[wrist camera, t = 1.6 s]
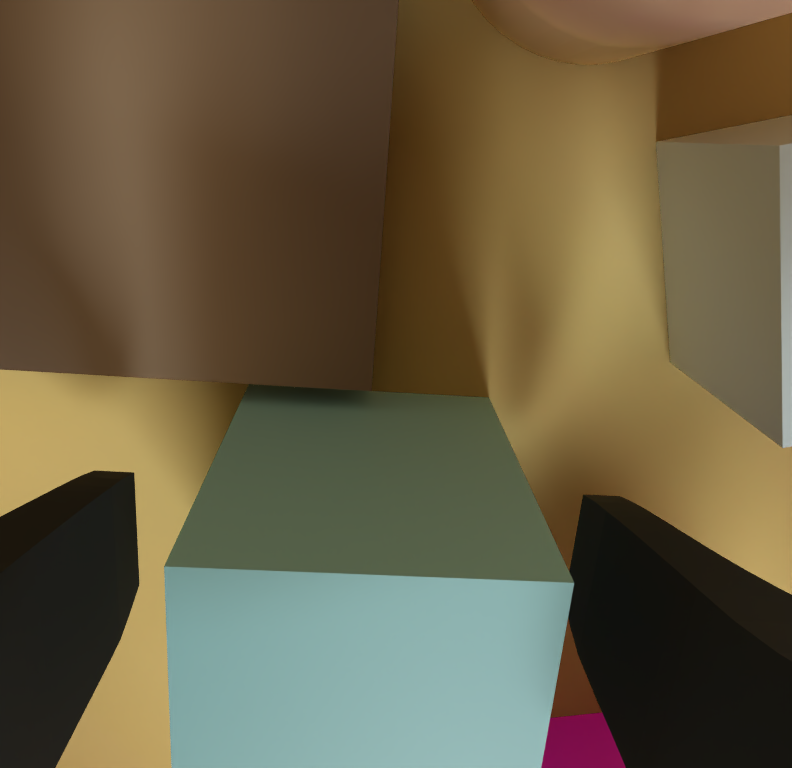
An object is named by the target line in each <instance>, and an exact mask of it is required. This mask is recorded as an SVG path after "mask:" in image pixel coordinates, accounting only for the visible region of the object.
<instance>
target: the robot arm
mask: <svg viewBox="0 0 792 768" xmlns="http://www.w3.org/2000/svg"><path fill="white" fill-rule="evenodd" d="M569 573H570V575H571V577H572V579H573V581H574V587H573V593H572V598H571V604H570V610H569V615H568V618H569V623H570V627H571V631H572V634H573V638H574V641H575V645H576V648H577V652H578V655H579V658H580V660H581V663H582V665H583V668H584V670H585V673H586V675H587V677H588V680H589V682H590V685H591V687H592V689H593V692H594V694H595V697H596V699H597V701H598V704H599V706H600V708H601V711H602V713H603V715H604V718H605V720H606V722H607V725H608V727H609V729H610V732H611V734H612V736H613V739H614V741H615V743H616V746H617V748H618V750H619V753H620V755H621V757H622V760H623V762H624V764H625V767H626V768H792V595H791V594H789V593H787V592H785V591H783V590H781V589H779V588H777V587H776V586H774V585H772V584H770V583H768V582H766V581H765V580H763V579H761V578H759V577H757V576H756V575H754V574H752V573H750V572H748V571H746V570H745V569H743V568H741V567H739V566H738V565H736V564H734V563H733V562H731V561H729V560H727V559H726V558H724V557H722V556H721V555H719V554H717V553H716V552H714V551H712V550H711V549H709V548H707V547H706V546H704V545H702V544H701V543H699V542H698V541H696V540H694V539H693V538H691V537H689V536H688V535H686V534H685V533H683V532H681V531H680V530H678V529H677V528H675V527H673V526H672V525H670V524H669V523H667V522H665V521H664V520H662V519H660V518H659V517H657V516H656V515H654V514H652V513H651V512H649V511H647V510H645V509H644V508H642V507H640V506H638V505H637V504H635V503H633V502H631V501H629V500H627V499H625V498H622V497H620V496H601V495H583V499H582V505H581V510H580V516H579V521H578V527H577V532H576V538H575V543H574V549H573V555H572V560H571V566H570V571H569ZM138 587H139V568H138V546H137V525H136V503H135V481H134V473H131V472H110V471H93V472H90V473H87V474H84V475H82V476H80V477H78V478H76V479H73V480H71V481H69V482H67V483H65V484H63V485H61V486H59V487H57V488H55V489H53V490H51V491H50V492H48V493H46V494H44V495H42V496H40V497H38V498H36V499H34V500H32V501H30V502H28V503H26V504H24V505H22V506H20V507H18V508H16V509H15V510H13V511H11V512H9V513H7V514H5V515H3V516H1V517H0V768H55V767H56V765H57V763H58V761H59V759H60V757H61V756H62V754H63V752H64V750H65V748H66V746H67V744H68V742H69V740H70V738H71V736H72V734H73V732H74V730H75V728H76V726H77V724H78V722H79V720H80V719H81V717H82V715H83V713H84V711H85V709H86V707H87V705H88V703H89V701H90V699H91V697H92V695H93V693H94V691H95V689H96V687H97V685H98V683H99V681H100V679H101V677H102V675H103V674H104V672H105V670H106V668H107V666H108V664H109V662H110V660H111V658H112V656H113V654H114V652H115V650H116V647H117V645H118V643H119V641H120V639H121V636H122V634H123V631H124V628H125V625H126V623H127V620H128V617H129V614H130V611H131V608H132V605H133V602H134V599H135V596H136V593H137V590H138Z"/></svg>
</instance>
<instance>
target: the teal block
mask: <svg viewBox="0 0 792 768" xmlns="http://www.w3.org/2000/svg"><path fill="white" fill-rule="evenodd" d="M164 573H165V601H166V628H167V655H168V683H169V710H170V737H171V764H172V768H541V766H542V761H543V755H544V750H545V744H546V738H547V733H548V727H549V722H550V716H551V710H552V705H553V699H554V694H555V688H556V682H557V677H558V671H559V666H560V660H561V654H562V649H563V643H564V638H565V632H566V626H567V621H568V615H569V610H570V604H571V598H572V593H573V587H574V581H573V579H572V577H571V575H570V573H569V570H568V568H567V566H566V564H565V562H564V560H563V557H562V555H561V553H560V551H559V549H558V547H557V544H556V542H555V540H554V538H553V536H552V533H551V531H550V529H549V527H548V525H547V523H546V520H545V518H544V516H543V514H542V512H541V510H540V507H539V505H538V503H537V501H536V499H535V497H534V494H533V492H532V490H531V488H530V486H529V484H528V481H527V479H526V477H525V475H524V473H523V471H522V468H521V466H520V464H519V462H518V460H517V457H516V455H515V453H514V451H513V449H512V447H511V444H510V442H509V440H508V438H507V436H506V434H505V431H504V429H503V427H502V425H501V423H500V421H499V418H498V416H497V414H496V412H495V410H494V408H493V405H492V403H491V401H490V399H489V398H488V397H470V396H452V395H434V394H416V393H398V392H380V391H360V390H343V389H326V388H309V387H291V386H273V385H255V384H249V385H248V387H247V389H246V392H245V394H244V396H243V398H242V400H241V402H240V404H239V407H238V409H237V411H236V413H235V415H234V417H233V420H232V422H231V424H230V426H229V428H228V430H227V432H226V435H225V437H224V439H223V441H222V443H221V445H220V448H219V450H218V452H217V454H216V456H215V458H214V460H213V463H212V465H211V467H210V469H209V471H208V473H207V476H206V478H205V480H204V482H203V484H202V486H201V488H200V491H199V493H198V495H197V497H196V499H195V501H194V504H193V506H192V508H191V510H190V512H189V514H188V516H187V519H186V521H185V523H184V525H183V527H182V529H181V531H180V534H179V536H178V538H177V540H176V542H175V544H174V547H173V549H172V551H171V553H170V555H169V557H168V559H167V562H166V564H165V566H164Z"/></svg>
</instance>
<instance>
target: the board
mask: <svg viewBox="0 0 792 768" xmlns="http://www.w3.org/2000/svg"><path fill="white" fill-rule="evenodd" d="M398 3H399V0H0V369H4V370H21V371H38V372H55V373H72V374H88V375H105V376H122V377H139V378H156V379H173V380H190V381H207V382H224V383H241V384H258V385H275V386H292V387H309V388H326V389H343V390H360V391H372V378H373V363H374V349H375V334H376V320H377V306H378V291H379V277H380V262H381V248H382V233H383V219H384V205H385V190H386V176H387V161H388V147H389V132H390V118H391V104H392V89H393V75H394V60H395V46H396V31H397V17H398Z"/></svg>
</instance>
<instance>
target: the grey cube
mask: <svg viewBox="0 0 792 768" xmlns="http://www.w3.org/2000/svg"><path fill="white" fill-rule="evenodd" d="M656 152H657V167H658V183H659V199H660V214H661V230H662V246H663V261H664V277H665V292H666V308H667V324H668V339H669V355H670V363H672V364H673V365H674V366H675V367H677V368H678V369H679V370H681V371H682V372H683V373H685V374H686V375H687V376H689V377H690V378H691V379H693V380H694V381H695V382H697V383H698V384H699V385H700V386H702V387H703V388H704V389H706V390H707V391H708V392H710V393H711V394H712V395H714V396H715V397H716V398H718V399H719V400H720V401H722V402H723V403H724V404H725V405H727V406H728V407H729V408H731V409H732V410H733V411H735V412H736V413H737V414H739V415H740V416H741V417H743V418H744V419H745V420H747V421H748V422H749V423H750V424H752V425H753V426H754V427H756V428H757V429H758V430H760V431H761V432H762V433H764V434H765V435H766V436H768V437H769V438H770V439H772V440H773V441H774V442H775V443H777V444H778V445H779V446H781V447H782V448H785V447H791V446H792V115H789V116H784V117H779V118H774V119H769V120H764V121H759V122H754V123H749V124H743V125H738V126H733V127H728V128H723V129H718V130H713V131H708V132H703V133H698V134H693V135H688V136H682V137H677V138H672V139H667V140H662V141H657V142H656Z"/></svg>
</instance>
